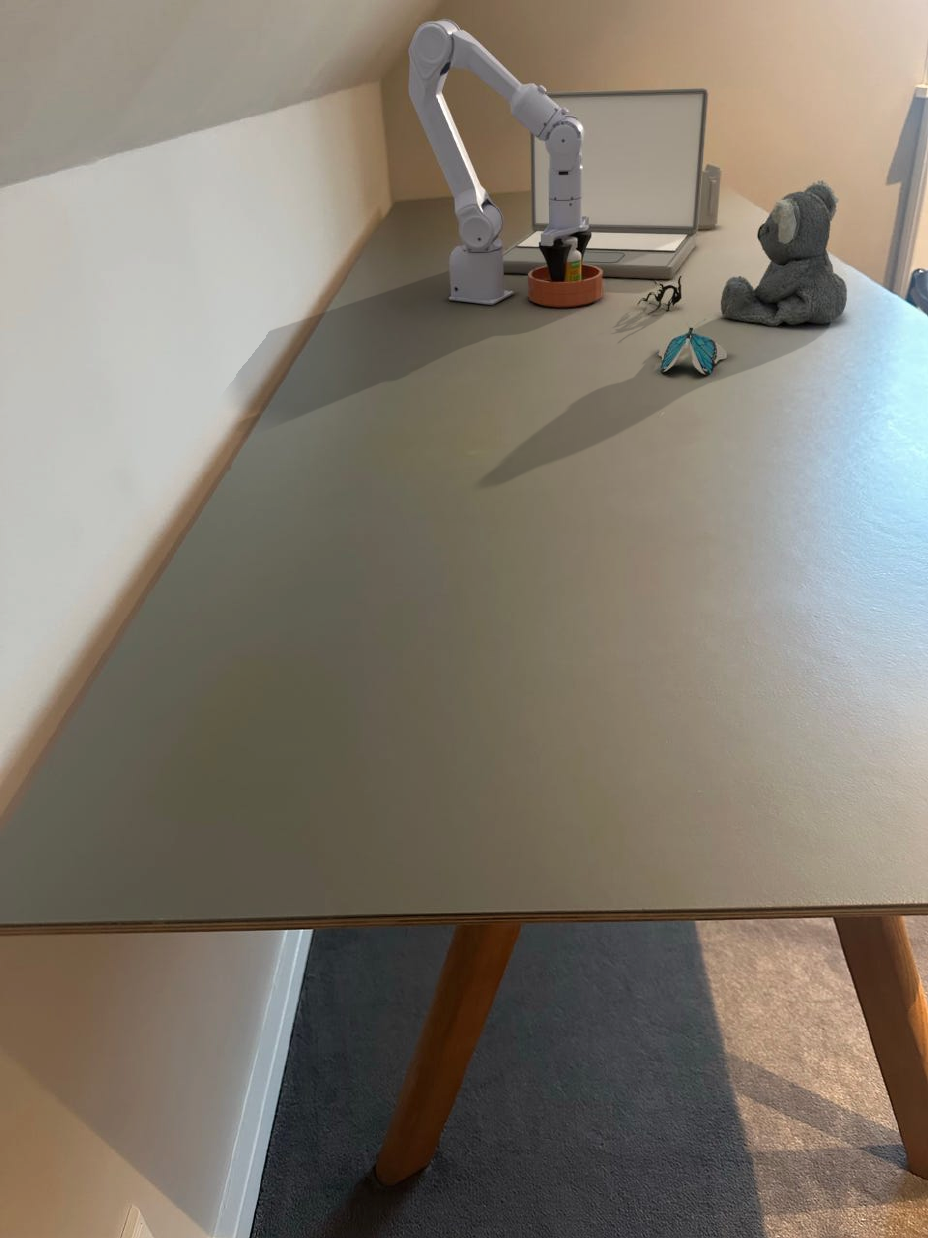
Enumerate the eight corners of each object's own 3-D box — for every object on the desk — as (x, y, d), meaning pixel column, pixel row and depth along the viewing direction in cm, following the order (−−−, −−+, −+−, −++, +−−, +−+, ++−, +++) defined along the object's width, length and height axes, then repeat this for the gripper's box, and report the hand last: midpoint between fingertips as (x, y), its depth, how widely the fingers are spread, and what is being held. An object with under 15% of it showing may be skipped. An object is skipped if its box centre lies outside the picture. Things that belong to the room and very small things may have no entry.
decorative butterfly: (647, 349, 132) (660, 311, 138) (647, 388, 137) (659, 350, 143) (721, 353, 129) (730, 314, 135) (718, 393, 134) (727, 353, 140)
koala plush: (767, 294, 164) (782, 172, 153) (866, 311, 153) (889, 181, 142) (711, 318, 155) (723, 190, 144) (812, 338, 144) (833, 201, 133)
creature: (637, 321, 159) (685, 311, 157) (632, 290, 157) (680, 278, 154) (640, 308, 166) (685, 297, 163) (634, 277, 163) (681, 266, 160)
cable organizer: (699, 218, 217) (703, 161, 210) (723, 229, 207) (728, 169, 200) (672, 222, 216) (675, 164, 209) (694, 232, 206) (699, 172, 199)
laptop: (490, 273, 187) (484, 109, 171) (534, 241, 208) (531, 92, 192) (670, 281, 175) (682, 105, 159) (697, 245, 196) (709, 87, 180)
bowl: (515, 304, 168) (514, 278, 166) (550, 285, 177) (549, 260, 175) (581, 312, 162) (582, 285, 160) (614, 292, 171) (614, 266, 169)
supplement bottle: (572, 300, 166) (572, 243, 161) (545, 297, 169) (545, 241, 163) (585, 292, 170) (586, 236, 165) (559, 290, 172) (559, 234, 167)
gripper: (567, 206, 153) (566, 291, 161) (605, 190, 163) (603, 271, 171) (529, 204, 157) (530, 288, 164) (568, 188, 167) (568, 267, 174)
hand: (565, 279), depth 168 cm, fingers closed on supplement bottle, 5 cm apart
